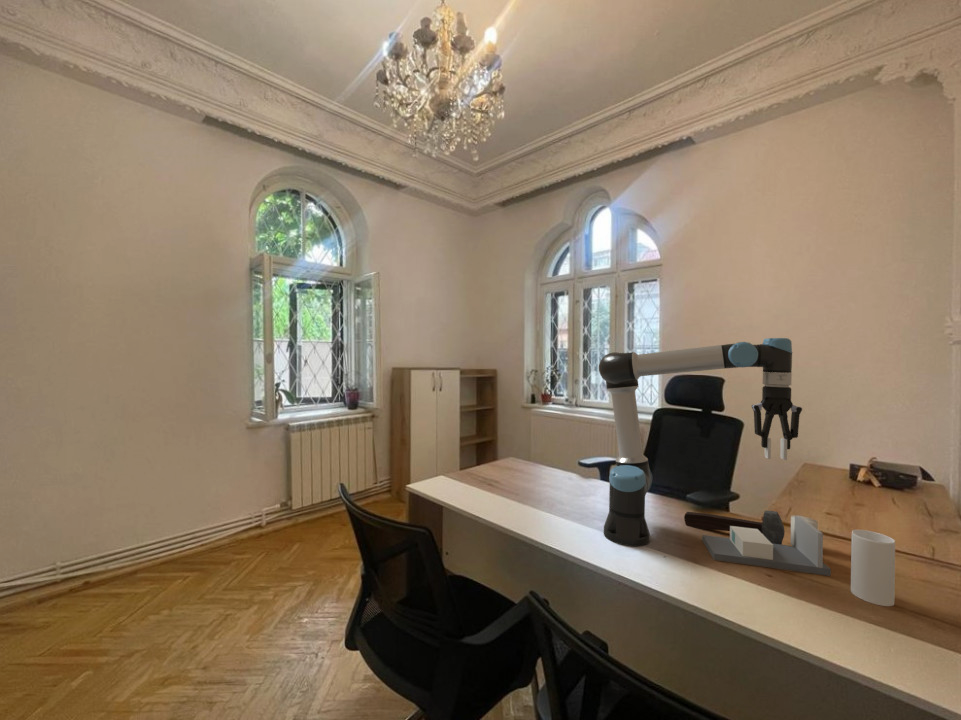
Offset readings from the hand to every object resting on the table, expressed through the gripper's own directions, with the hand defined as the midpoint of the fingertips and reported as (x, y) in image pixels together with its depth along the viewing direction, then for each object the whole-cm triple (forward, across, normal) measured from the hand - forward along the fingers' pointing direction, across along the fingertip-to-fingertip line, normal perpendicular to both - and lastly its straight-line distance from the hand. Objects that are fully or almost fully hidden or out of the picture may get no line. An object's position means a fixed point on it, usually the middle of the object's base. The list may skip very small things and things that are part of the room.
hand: (775, 458), depth 129 cm
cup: (+31, +15, -20) cm, 40 cm away
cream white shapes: (+31, +12, +9) cm, 34 cm away
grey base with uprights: (+31, -5, -4) cm, 31 cm away
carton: (+29, -8, -4) cm, 30 cm away
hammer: (+31, -9, +11) cm, 34 cm away
